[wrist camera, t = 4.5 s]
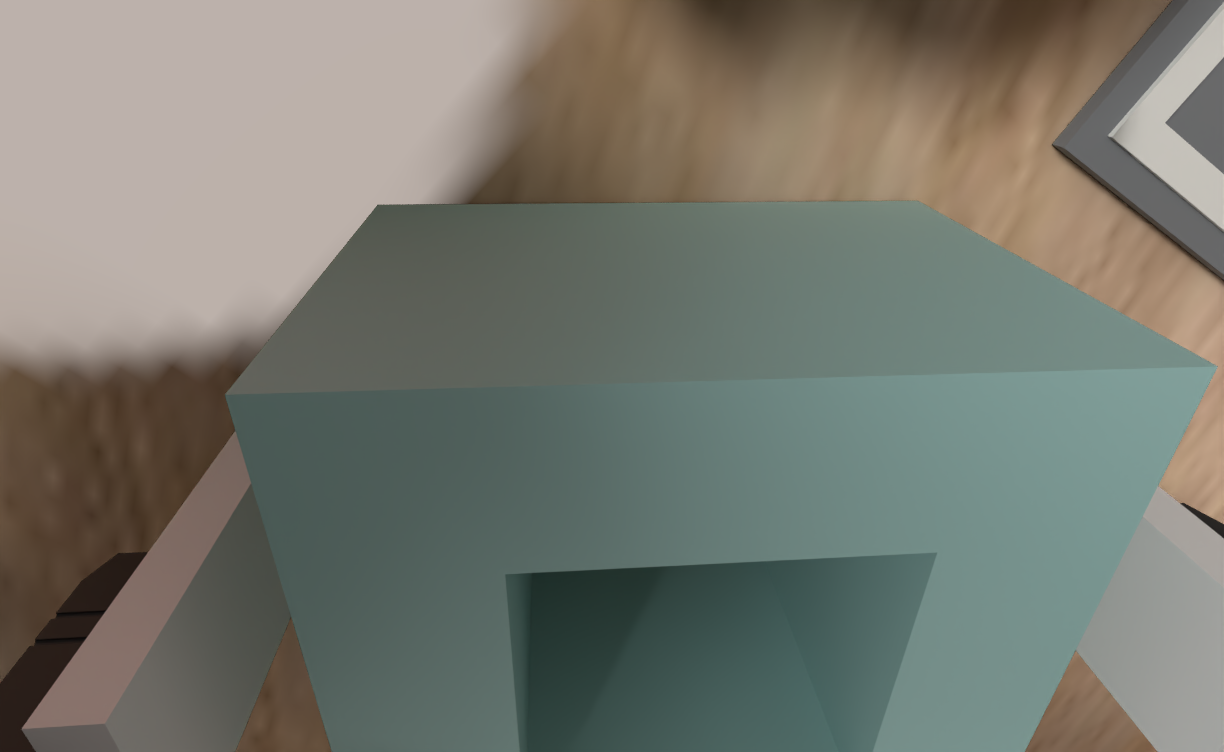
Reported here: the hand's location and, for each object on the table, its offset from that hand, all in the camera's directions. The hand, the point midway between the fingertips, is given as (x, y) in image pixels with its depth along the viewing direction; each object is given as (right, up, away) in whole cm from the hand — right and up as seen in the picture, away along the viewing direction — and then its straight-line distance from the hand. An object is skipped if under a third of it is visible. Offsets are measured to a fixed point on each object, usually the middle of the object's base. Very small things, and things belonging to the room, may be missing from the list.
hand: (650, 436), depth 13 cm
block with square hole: (0, 0, 0) cm, 0 cm away
